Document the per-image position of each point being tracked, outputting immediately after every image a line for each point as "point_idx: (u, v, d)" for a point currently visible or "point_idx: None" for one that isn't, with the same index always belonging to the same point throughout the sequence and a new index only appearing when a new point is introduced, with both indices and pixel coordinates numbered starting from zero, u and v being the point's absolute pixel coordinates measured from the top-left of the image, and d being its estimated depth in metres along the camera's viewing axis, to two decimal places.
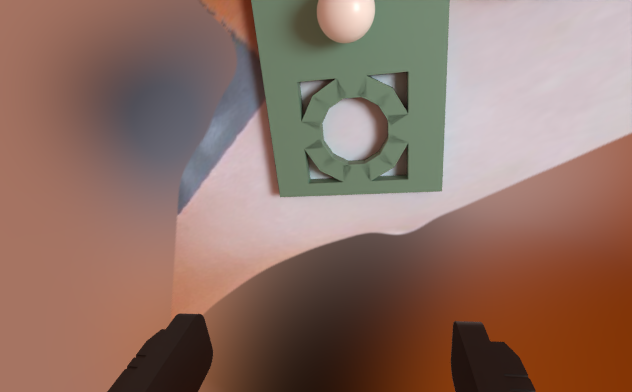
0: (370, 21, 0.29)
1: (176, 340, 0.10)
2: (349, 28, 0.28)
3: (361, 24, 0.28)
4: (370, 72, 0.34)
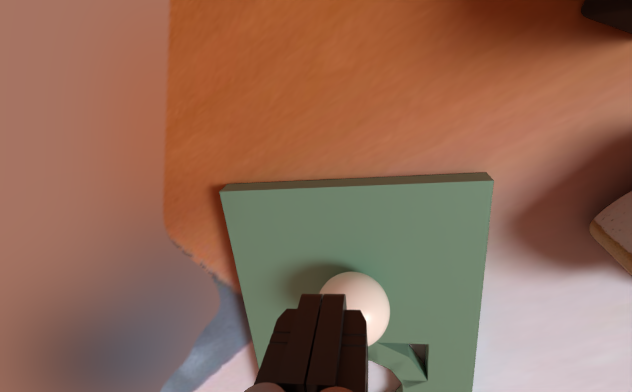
0: (384, 331, 0.23)
1: (314, 317, 0.10)
2: None
3: None
4: (382, 340, 0.27)
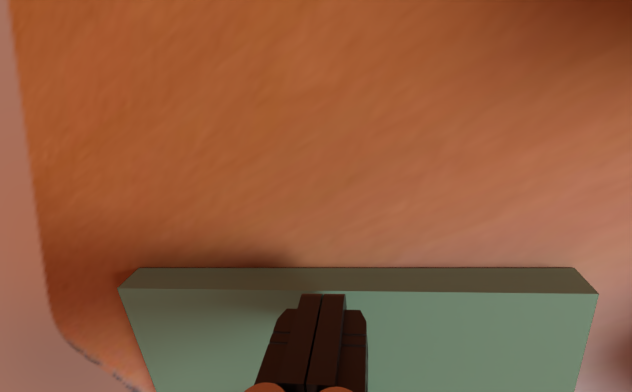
0: None
1: (314, 317, 0.10)
2: None
3: None
4: None
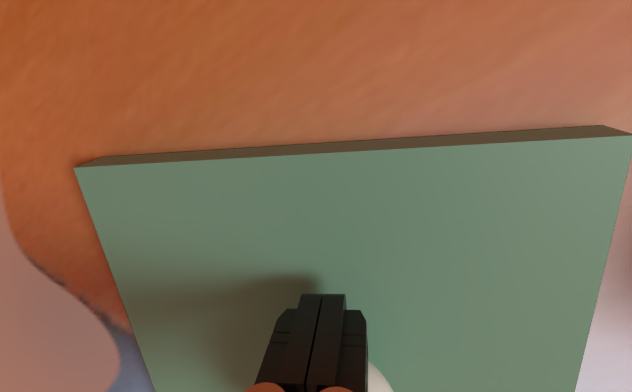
0: None
1: (314, 317, 0.10)
2: None
3: None
4: None
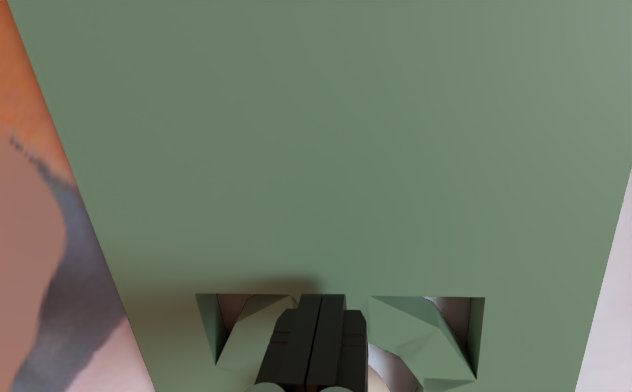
0: (386, 391, 0.14)
1: (314, 317, 0.10)
2: None
3: None
4: (381, 290, 0.13)
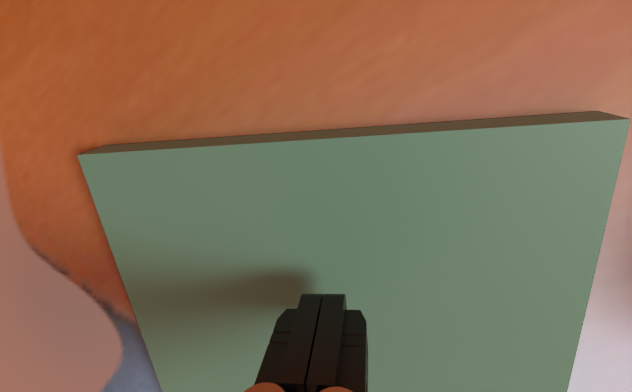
0: None
1: (314, 317, 0.10)
2: None
3: None
4: None
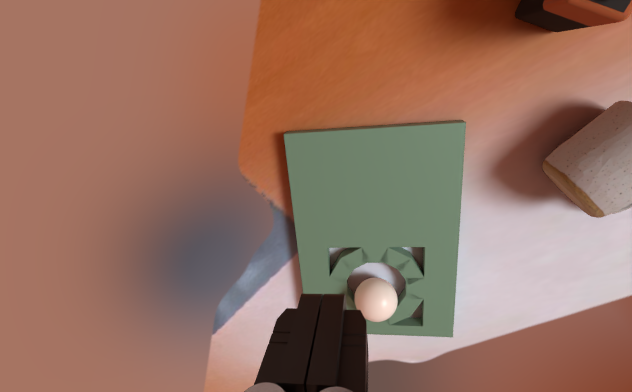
0: (393, 290, 0.40)
1: (314, 317, 0.10)
2: (378, 279, 0.40)
3: (386, 282, 0.40)
4: (392, 245, 0.39)
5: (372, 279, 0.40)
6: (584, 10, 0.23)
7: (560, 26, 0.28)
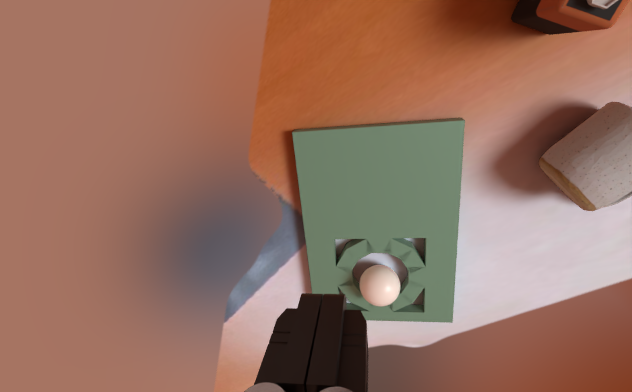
0: (396, 275, 0.42)
1: (314, 317, 0.10)
2: (381, 265, 0.42)
3: (390, 268, 0.42)
4: (395, 236, 0.41)
5: (376, 265, 0.43)
6: (573, 18, 0.25)
7: (553, 30, 0.30)
